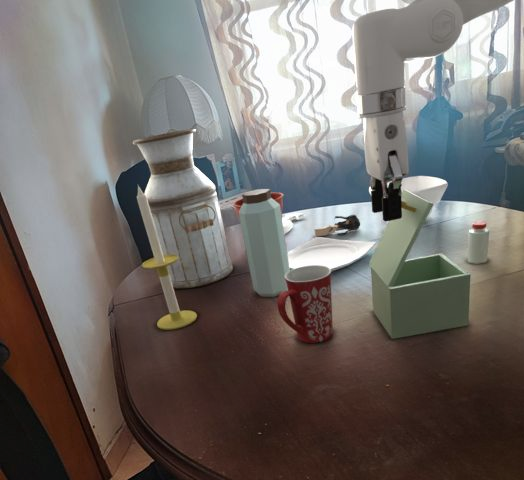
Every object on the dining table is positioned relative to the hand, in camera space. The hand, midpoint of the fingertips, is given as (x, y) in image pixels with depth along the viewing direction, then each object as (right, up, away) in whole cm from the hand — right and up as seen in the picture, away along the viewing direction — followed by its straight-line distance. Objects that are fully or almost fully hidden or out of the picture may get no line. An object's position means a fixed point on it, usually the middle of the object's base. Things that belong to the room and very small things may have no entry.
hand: (386, 214), depth 83 cm
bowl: (+26, +18, +71) cm, 78 cm away
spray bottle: (-15, +21, +91) cm, 94 cm away
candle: (-43, -17, +31) cm, 56 cm away
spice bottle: (+31, -2, +31) cm, 44 cm away
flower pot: (-21, +10, +71) cm, 75 cm away
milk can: (-42, -2, +59) cm, 72 cm away
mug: (-13, -22, +11) cm, 28 cm away
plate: (-5, +1, +51) cm, 51 cm away
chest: (+9, -18, +10) cm, 23 cm away
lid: (+3, -4, +2) cm, 5 cm away
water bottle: (-20, -9, +37) cm, 43 cm away
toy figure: (+3, +14, +71) cm, 73 cm away
